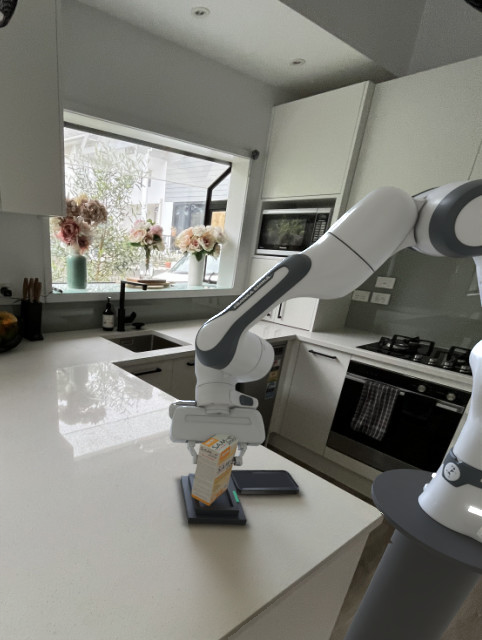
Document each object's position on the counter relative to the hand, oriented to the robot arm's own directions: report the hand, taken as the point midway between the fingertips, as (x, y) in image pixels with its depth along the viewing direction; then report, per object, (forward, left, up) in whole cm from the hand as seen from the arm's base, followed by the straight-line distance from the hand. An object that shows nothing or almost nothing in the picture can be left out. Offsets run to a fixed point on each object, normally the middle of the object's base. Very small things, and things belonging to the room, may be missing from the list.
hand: (217, 464), depth 79 cm
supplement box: (+1, 0, -7) cm, 7 cm away
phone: (-14, -7, -10) cm, 19 cm away
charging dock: (0, 0, -10) cm, 10 cm away
